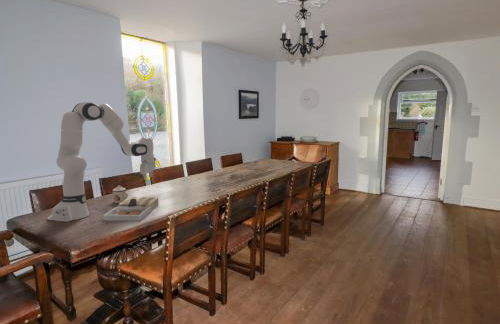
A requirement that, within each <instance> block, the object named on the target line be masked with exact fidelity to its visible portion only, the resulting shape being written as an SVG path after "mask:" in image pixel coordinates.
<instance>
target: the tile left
mask: <svg viewBox="0 0 500 324" xmlns="http://www.w3.org/2000/svg"><path fill="white" fill-rule="evenodd" d="M128 213H129V212H118V215H127V214H128Z"/></svg>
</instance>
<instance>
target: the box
mask: <svg viewBox="0 0 500 324" xmlns="http://www.w3.org/2000/svg"><path fill="white" fill-rule="evenodd" d="M116 207H117V206H116ZM116 207H114V208H113V209H111V210H109V211H108V212H106V213H104V214H103V215H102V218H103V219H102V220H103V222H141V221H143V220H144V219H145V218H146V217H147V216H148V215H149V214H151V213H152V210H151V207H143V210H142V212H141V214H140V215H130V212H129V213H128V214H127V215H118V212H116V210H115V209H116Z"/></svg>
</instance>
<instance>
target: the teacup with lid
mask: <svg viewBox="0 0 500 324" xmlns="http://www.w3.org/2000/svg"><path fill="white" fill-rule="evenodd" d="M126 190H127V188H125V187H123V186H122V185H117V187H115V188H113V189H112V196H113V197H112V200H113V203H114V204H120V203H121V202H123V201H125V200H126V199H128V198H129V197H128V196H129V195H128V193H127V191H126Z"/></svg>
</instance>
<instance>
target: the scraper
mask: <svg viewBox="0 0 500 324" xmlns="http://www.w3.org/2000/svg"><path fill="white" fill-rule="evenodd" d="M136 203H137V201H136V199H131V200H130V202H129V204H128V206H119V205H118V206H116V209H115V210H116V212H142V210H143V206H135V205H136Z"/></svg>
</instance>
